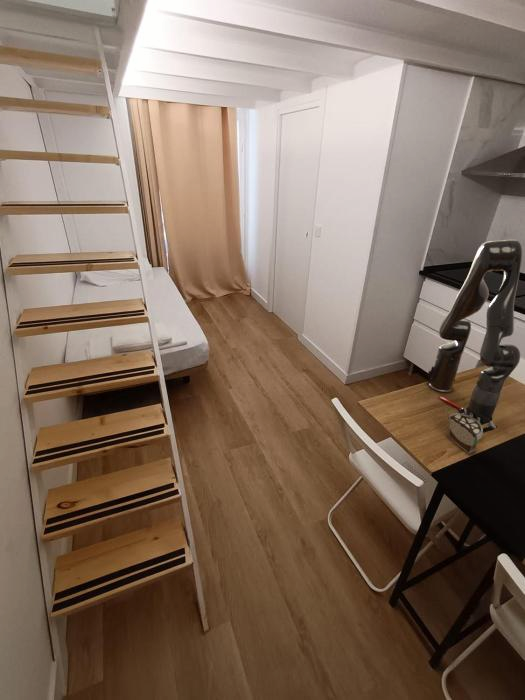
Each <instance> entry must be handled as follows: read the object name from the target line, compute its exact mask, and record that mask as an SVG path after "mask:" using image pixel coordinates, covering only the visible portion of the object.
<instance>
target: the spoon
mask: <svg viewBox="0 0 525 700" xmlns="http://www.w3.org/2000/svg"><path fill="white" fill-rule="evenodd" d="M439 399H440V400H442V401H444V402H445V403H447V404H449V405H450V406H453V407H455V408H456V409H458V410H459V409H461V408H463V407H462V406H460V405H458V404H456V403H455V402H453V401H451V400H449V399H447V398H445V397H444V396H439Z"/></svg>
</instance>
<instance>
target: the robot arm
mask: <svg viewBox="0 0 525 700" xmlns="http://www.w3.org/2000/svg"><path fill="white" fill-rule="evenodd" d="M522 260H523V246H522V244H521V242H520V241H519V240H517V239H504V240H490V241H486V242H483V243H482V244H481V245H480V246H479V247H478V249H477V251H476V254H475V256H474V259H473V260H472V264H471V267H470V269H469V272H468V274H467V277H466V279H465V280H464V283H463V285H462V286H461V288H460V289H459V291H458V293H457V296H456V297H455V300H454V302H453V304H452V306H451V308H450V310H449V311H448V312H447V314H446V315H445V317H444V319H443V320H442V321H441V324H440V326H439V330H438V335H439V337H440V338H441V339H442V340H445V341H450V342H448V343H444V344H441V345H440V346H439V347H438V350H437V354H436V358H435V361H434V365H432V366H431V369H430V370H428V373H427V376H428V381H427V385H428V386H429V387H430V389H432V390H433V391H436V392H439V393H450V392H452V391H453V386H454V383H455V382H456V376H457V373H458V369H459V366H460V363H461V360H462V356H463V353H464V352H465V349H466V345H467V343H468V340H469V336H470V334H471V330H472V323H471V322H470V320H468V319H467V318H469V317H471V316H473V315H475V314H476V313H478V312H479V311H480V310H481V309H482V308H483V307H484V305H485V303H486V302H487V300H488V299H489V296H490V292H489V291H490V290H489V287H488V285H487V283H486V281H485V279H484V277H485V275H486V274H487V273H488V272H500V271H503V279H502V283H501V285H500V287H499V289H498V290H497V292H496V294H495V295H494V296H493V298H492V300H491V301H490V302H489V304H488V307H487V310H486V331H485V334H484V337H483V341H482V344H481V347H480V352H479V358H480V361H481V363H482V364H483V365H484V366H486V367H487V368H484V369H482V370H481V371H480V373H479V374H478V378H477V380H476V383H475V386H474V388H473V390H472V392H471V396H470V399H469V402H468V405H467V406H466V407H464V406H463V407H462V408H461V409H458V413H459V414H465V415H469V418H470V419H472V420H473V418H475V419H476V421H479V422H480V424H481V426H482V428H483V434H485V433H488V432H492V431H494V430H495V429H498V425H497V424H494V423H493V415H494V413H495V410H496V408H497V405H498V402H499V399H500V396H501V392H502V389H503V386H504V384H505V381H506V380H507V379H508V377H510V375H511V374H512V373H513V371H514V370H515V369H516V368H517V366H518V365H519V363H520V360H521V352H520V349H519V347H517V346H516V345H514V344H509V343H508V344H501V342H502V340H503V339H504V338H507V337H511V336H512V335H513V334H514V332H515V331H514V330H515V300H516V294H517V289H518V283H519V279H520V273H521V267H522ZM486 424H487V425H486ZM483 425H486V426H485V427H483Z"/></svg>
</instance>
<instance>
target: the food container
mask: <svg viewBox="0 0 525 700" xmlns="http://www.w3.org/2000/svg"><path fill="white" fill-rule="evenodd" d="M448 419H449V424H448V438H449V439H450V440H452V442H454V443H455V444H456V445H457V446H458V447H460V448H461V450H463V451H465V452H466V454H468V455H471V454H473V452H474V451H475V448H477V447H476V446H477V444H478V442H479V440H480V439H481V438H482V437H483V436H484V433H483V428H484V427H483V425H482V426H481V424H480V422H479V421H476V419H475V418H473V420H472V419H470V418H469V415H465V414H460V413H459V412H458V413H455V412H454V413H450V414H449V415H448Z"/></svg>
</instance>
